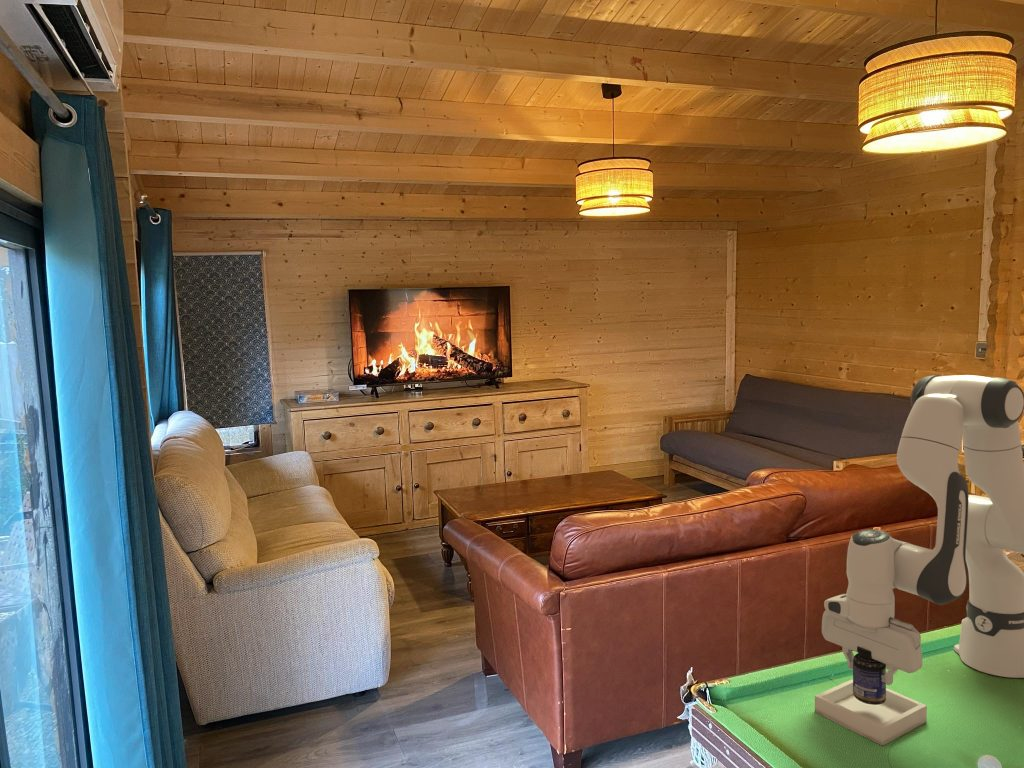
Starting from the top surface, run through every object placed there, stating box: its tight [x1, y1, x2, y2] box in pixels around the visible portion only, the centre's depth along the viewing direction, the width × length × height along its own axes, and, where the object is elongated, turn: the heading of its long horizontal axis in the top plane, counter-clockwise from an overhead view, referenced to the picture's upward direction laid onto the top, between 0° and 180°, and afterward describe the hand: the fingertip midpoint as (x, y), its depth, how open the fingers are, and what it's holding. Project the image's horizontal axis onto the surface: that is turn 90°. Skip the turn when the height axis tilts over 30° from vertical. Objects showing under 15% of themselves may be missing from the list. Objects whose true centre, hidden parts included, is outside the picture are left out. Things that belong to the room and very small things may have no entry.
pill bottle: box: [852, 646, 887, 705], centre depth 151 cm, size 6×6×11 cm
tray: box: [814, 678, 928, 746], centre depth 151 cm, size 15×15×4 cm
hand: (869, 675), depth 151 cm, fingers closed on pill bottle, 6 cm apart
